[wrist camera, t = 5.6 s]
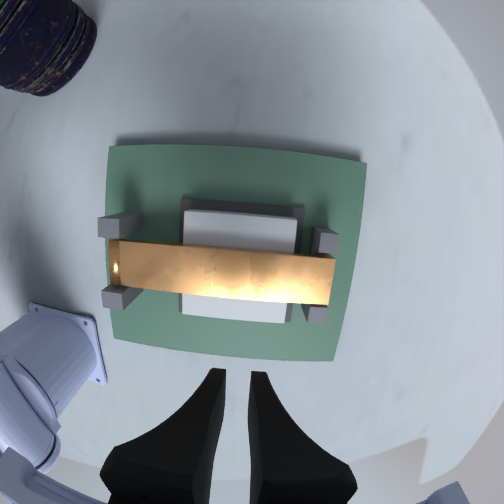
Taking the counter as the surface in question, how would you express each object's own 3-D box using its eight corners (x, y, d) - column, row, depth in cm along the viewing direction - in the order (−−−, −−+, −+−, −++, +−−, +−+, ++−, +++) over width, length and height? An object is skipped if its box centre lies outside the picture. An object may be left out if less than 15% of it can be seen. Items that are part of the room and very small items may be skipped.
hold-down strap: (118, 276, 18) (106, 284, 17) (116, 235, 18) (104, 240, 16) (322, 295, 19) (328, 306, 17) (329, 253, 18) (336, 260, 16)
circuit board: (119, 332, 23) (94, 360, 18) (116, 148, 19) (81, 140, 14) (329, 353, 23) (344, 389, 18) (360, 164, 19) (390, 158, 14)
